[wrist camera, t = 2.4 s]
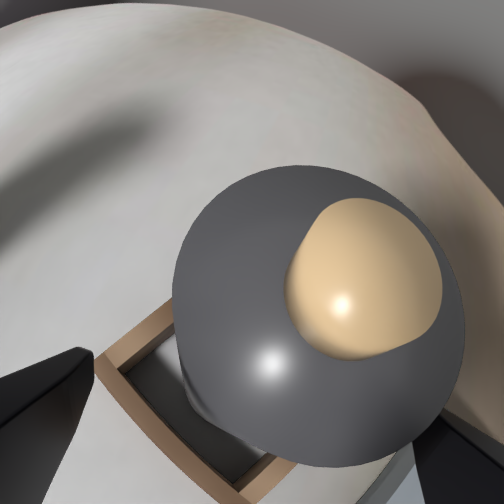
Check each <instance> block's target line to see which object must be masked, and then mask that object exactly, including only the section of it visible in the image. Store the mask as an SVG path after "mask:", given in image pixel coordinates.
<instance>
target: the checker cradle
mask: <svg viewBox="0 0 504 504" xmlns="http://www.w3.org/2000/svg"><path fill="white" fill-rule="evenodd" d="M174 333H175V328H174V320H173V312H172V298H171V299H169V300H168V301H167V302H166V303H164V304H163V305H162V306H161V307H159V308H158V309H157V310H156V311H154V312H153V313H152V314H151V315H149V316H148V317H147V318H146V319H144V320H143V321H142V322H141V323H139V324H138V325H137V326H136V327H134V328H133V329H132V330H131V331H129V332H128V333H127V334H126V335H124V336H123V337H122V338H121V339H119V340H118V341H117V342H116V343H114V344H113V345H112V346H111V347H109V348H108V349H107V350H106V351H104V352H103V353H102V354H101V355H99V356H98V357H97V358H96V359H94V373H95V374H96V375H97V377H98V378H99V379H100V381H101V382H102V383H103V385H104V386H105V387H106V388H107V390H108V391H109V392H110V393H111V395H112V396H113V397H114V398H115V400H116V401H117V402H118V403H119V404H120V406H121V407H122V408H123V409H124V410H125V412H126V413H127V414H128V415H129V416H130V417H131V419H132V420H133V421H134V422H135V423H136V424H137V425H138V426H139V428H140V429H141V430H142V431H143V432H144V433H145V434H146V435H147V436H148V437H149V438H150V439H151V440H152V442H153V443H154V444H155V445H156V446H157V447H158V448H159V449H160V450H161V451H162V452H163V453H164V454H165V455H166V456H167V457H168V458H169V459H170V460H171V461H172V462H173V463H174V464H175V465H176V466H177V467H178V468H180V469H181V470H182V471H183V472H184V473H185V474H186V475H187V476H188V477H189V478H190V479H191V480H193V481H194V482H195V483H196V484H197V485H198V486H199V487H200V488H202V489H203V490H204V491H205V492H206V493H207V494H209V495H210V496H211V497H212V498H213V499H215V500H216V501H217V502H218V503H220V504H256V503H257V502H259V501H260V500H261V499H262V498H263V497H264V496H265V495H266V494H267V493H268V492H269V491H270V490H272V489H273V488H274V487H275V486H276V485H277V484H278V483H279V482H280V481H281V480H282V479H283V478H284V477H285V476H286V475H287V474H288V473H289V472H290V471H291V470H292V469H293V468H294V467H295V466H296V465H297V464H298V463H295V462H291V461H288V460H286V459H283V458H280V457H278V456H275V455H273V454H270V453H268V452H267V453H266V454H265V455H264V456H263V457H262V458H261V459H260V460H259V461H258V462H257V463H256V464H254V465H253V466H252V467H251V468H250V469H249V470H248V471H247V472H246V473H245V474H244V475H243V476H241V477H240V478H239V479H238V480H237V481H236V482H235V483H234V484H232V483H231V482H229V481H228V480H227V479H226V478H225V477H224V476H222V475H221V474H220V473H219V472H218V471H217V470H216V469H215V468H213V467H212V466H211V465H210V464H209V463H208V462H207V461H206V460H205V459H204V458H202V457H201V456H200V455H199V454H198V453H197V452H196V451H195V450H194V449H193V448H192V447H191V446H190V445H189V444H188V443H187V442H186V441H185V440H184V439H183V438H182V437H181V436H180V435H179V434H178V433H177V432H176V431H175V430H174V429H173V428H172V427H171V426H170V425H169V424H168V423H167V422H166V421H165V420H164V419H163V418H162V416H161V415H160V414H159V413H158V412H157V411H156V410H155V409H154V408H153V407H152V406H151V404H150V403H149V402H148V401H147V400H146V399H145V398H144V396H143V395H142V394H141V393H140V392H139V391H138V389H137V388H136V387H135V386H134V385H133V384H132V382H131V381H130V380H129V379H128V378H127V376H126V375H125V373H126V372H127V371H129V370H130V369H131V368H132V367H133V366H135V365H136V364H137V363H138V362H140V361H141V360H142V359H143V358H144V357H146V356H147V355H148V354H149V353H151V352H152V351H153V350H154V349H155V348H157V347H158V346H159V345H160V344H161V343H163V342H164V341H165V340H166V339H168V338H169V337H170V336H171V335H172V334H174Z"/></svg>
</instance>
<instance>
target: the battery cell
mask: <svg viewBox="0 0 504 504" xmlns="http://www.w3.org/2000/svg"><path fill="white" fill-rule="evenodd" d="M172 312H173V320H174V328H175V335H176V341H177V347H178V353H179V359H180V365H181V371H182V376H183V382H184V387H185V392H186V395H187V398H188V400H189V403H190V404H191V406H192V407H193V409H194V410H195V411H196V412H197V414H198V415H200V416H201V417H202V418H203V419H205V420H206V421H208V422H209V423H211V424H213V425H215V426H216V427H218V428H220V429H222V430H224V431H226V432H228V433H229V434H231V435H233V436H235V437H237V438H239V439H241V440H243V441H245V442H247V443H249V444H251V445H253V446H255V447H257V448H259V449H261V450H263V451H266V452H268V453H270V454H273V455H275V456H278V457H280V458H283V459H286V460H288V461H291V462H295V463H300V464H304V465H309V466H314V467H333V468H339V467H348V466H356V465H362V464H365V463H369V462H372V461H376V460H379V459H382V458H384V457H386V456H388V455H390V454H392V453H394V452H396V451H398V450H400V449H401V448H403V447H404V446H406V445H407V444H409V443H410V442H412V441H413V440H415V439H416V438H417V437H418V436H419V435H420V434H421V433H422V432H423V431H425V430H426V429H427V428H428V427H429V426H430V424H431V423H432V422H433V421H434V420H435V418H436V417H437V416H438V415H439V413H440V412H441V410H442V409H443V407H444V405H445V404H446V402H447V400H448V399H449V397H450V395H451V392H452V390H453V388H454V386H455V383H456V381H457V378H458V374H459V371H460V367H461V363H462V358H463V352H464V341H465V322H464V311H463V305H462V300H461V295H460V291H459V288H458V284H457V281H456V278H455V276H454V273H453V271H452V268H451V266H450V264H449V262H448V260H447V258H446V256H445V254H444V252H443V250H442V249H441V247H440V245H439V244H438V242H437V241H436V239H435V238H434V236H433V235H432V234H431V232H430V231H429V230H428V229H427V227H426V226H425V225H424V224H423V223H422V221H421V220H420V219H419V218H418V217H417V216H416V215H415V214H414V213H413V212H412V211H411V210H410V209H409V208H407V207H406V206H405V205H404V204H403V203H402V202H400V201H399V200H398V199H396V198H395V197H394V196H392V195H391V194H389V193H388V192H387V191H385V190H383V189H382V188H380V187H378V186H376V185H375V184H373V183H371V182H369V181H366V180H364V179H362V178H360V177H358V176H355V175H352V174H349V173H346V172H343V171H339V170H335V169H331V168H326V167H318V166H302V165H294V166H284V167H277V168H272V169H268V170H264V171H260V172H258V173H255V174H252V175H250V176H247V177H245V178H243V179H241V180H239V181H238V182H236V183H234V184H232V185H230V186H229V187H228V188H226V189H225V190H224V191H222V192H221V193H220V194H218V195H217V196H216V197H215V198H214V199H213V200H212V201H211V202H210V203H209V204H208V205H207V206H206V207H205V208H204V209H203V210H202V212H201V213H200V214H199V216H198V217H197V218H196V220H195V221H194V223H193V224H192V226H191V228H190V230H189V231H188V233H187V235H186V237H185V239H184V241H183V244H182V247H181V250H180V252H179V255H178V258H177V261H176V267H175V272H174V278H173V283H172Z"/></svg>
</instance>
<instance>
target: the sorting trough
mask: <svg viewBox="0 0 504 504" xmlns="http://www.w3.org/2000/svg"><path fill="white" fill-rule="evenodd" d="M447 410H448V409H447ZM448 411H449V410H448ZM356 504H425V502H424V498H423V494H422V490H421V486H420V482H419V478H418V474H417V469H416V464H415V458H414V452H413V447H412V442H410V443H409V444H407V445H406V446H404V447H403V448H401V449H400V450H398V451H397V452H396V454H395V455H394V457H393V458H392V459H391V461H390V462H389V463H388V465H387V466H386V468H385V469H384V470H383V471H382V473H381V474H380V475H379V477H378V478H377V479H376V480H375V482H374V483H373V484H372V485H371V487H370V488H369V489H368V490H367V492H366V493H365V494H364V495H363V496H362V498H361V499H360V500H359V501H358V502H357V503H356Z"/></svg>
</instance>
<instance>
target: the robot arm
mask: <svg viewBox="0 0 504 504" xmlns="http://www.w3.org/2000/svg"><path fill="white" fill-rule="evenodd" d="M93 383H94V355H93V352H92V351H90V350H88V349H85V348H82V347H75V348H72V349H70V350H67V351H65V352H63V353H60V354H58V355H55V356H53V357H51V358H48V359H46V360H43V361H41V362H38V363H36V364H33V365H31V366H29V367H26V368H24V369H21V370H19V371H16V372H14V373H11V374H9V375H6V376H4V377H1V378H0V504H42V502H43V500H44V497H45V495H46V493H47V491H48V489H49V486H50V484H51V482H52V480H53V478H54V476H55V473H56V471H57V469H58V467H59V465H60V463H61V461H62V459H63V457H64V455H65V453H66V451H67V449H68V447H69V445H70V443H71V441H72V438H73V436H74V434H75V432H76V429H77V427H78V424H79V421H80V418H81V416H82V413H83V410H84V407H85V405H86V402H87V399H88V397H89V394H90V391H91V389H92V386H93ZM412 447H413V452H414V458H415V464H416V469H417V474H418V478H419V482H420V486H421V490H422V494H423V498H424V502H425V504H504V445H502V444H501V443H499V442H497V441H496V440H494V439H493V438H491V437H489V436H488V435H486V434H485V433H483V432H481V431H480V430H478V429H477V428H475V427H473V426H472V425H470V424H469V423H467V422H465V421H464V420H462V419H461V418H459V417H458V416H456V415H454V414H453V413H451V412H450V411H448V410H447V409H445V408H443V409H442V410H441V412H440V413H439V415H438V416H437V417H436V418H435V420H434V421H433V422H432V423H431V424H430V426H429V427H428V428H427V429H426V430H425V431H423V432H422V433H421V434H420V435H419V436H418V437H417V438H416V439H415V440H413V441H412Z"/></svg>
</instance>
